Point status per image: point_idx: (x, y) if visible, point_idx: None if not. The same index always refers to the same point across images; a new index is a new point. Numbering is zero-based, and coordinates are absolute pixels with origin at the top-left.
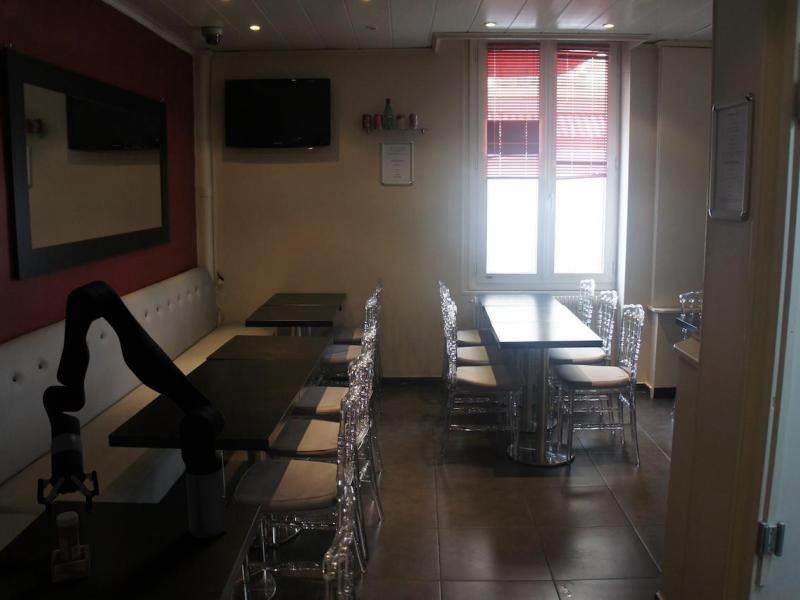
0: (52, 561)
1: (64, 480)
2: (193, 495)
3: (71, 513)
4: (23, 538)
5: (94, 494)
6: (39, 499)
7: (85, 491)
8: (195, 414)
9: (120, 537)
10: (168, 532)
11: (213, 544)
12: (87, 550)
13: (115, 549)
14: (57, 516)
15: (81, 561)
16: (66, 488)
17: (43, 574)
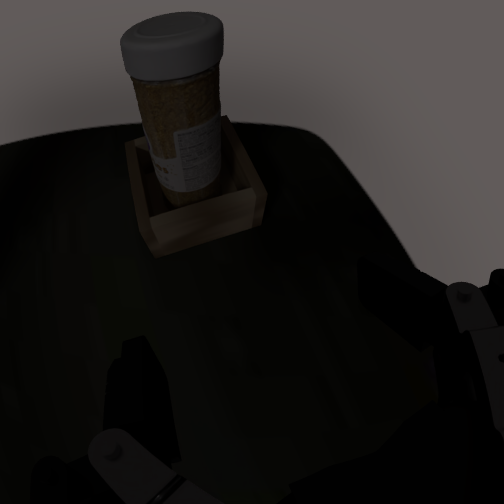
0: (234, 136)
1: (498, 495)
2: None
3: (150, 34)
4: (437, 391)
5: (84, 461)
6: (501, 273)
7: (145, 471)
8: None
9: (96, 403)
10: None
11: None
12: (135, 189)
13: (90, 317)
14: (218, 20)
15: (144, 137)
16: (406, 452)
17: (271, 186)
